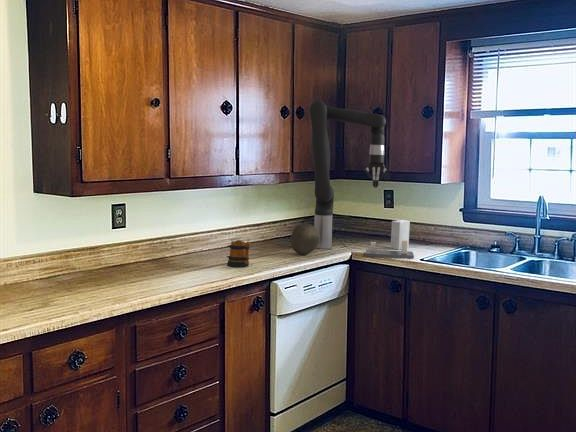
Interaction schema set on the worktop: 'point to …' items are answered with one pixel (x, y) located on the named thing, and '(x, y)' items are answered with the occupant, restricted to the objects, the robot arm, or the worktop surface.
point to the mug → (238, 254)
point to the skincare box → (399, 233)
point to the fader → (404, 247)
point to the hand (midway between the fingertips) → (375, 187)
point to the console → (386, 253)
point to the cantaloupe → (304, 239)
